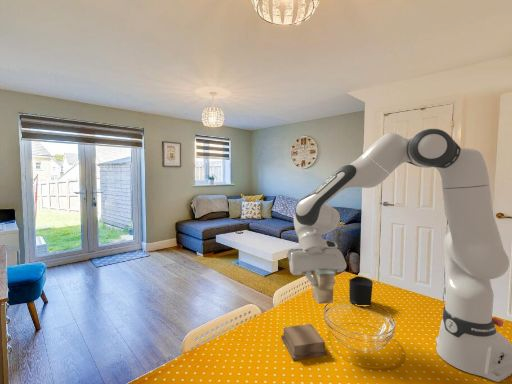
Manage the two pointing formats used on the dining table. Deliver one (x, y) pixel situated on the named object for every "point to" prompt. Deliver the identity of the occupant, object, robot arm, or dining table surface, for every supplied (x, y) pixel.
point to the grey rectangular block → (323, 285)
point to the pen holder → (360, 290)
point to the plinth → (303, 342)
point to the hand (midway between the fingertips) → (323, 285)
